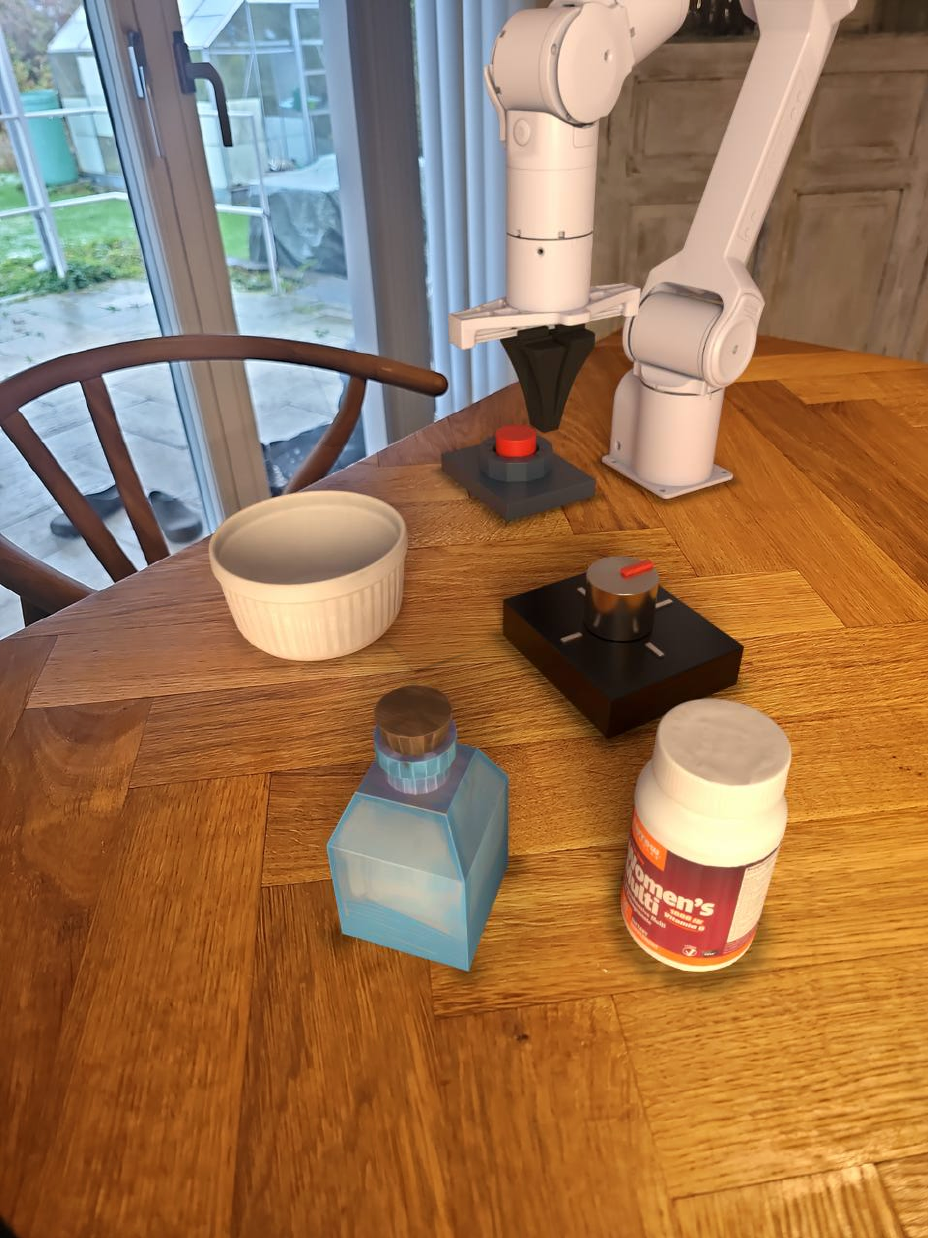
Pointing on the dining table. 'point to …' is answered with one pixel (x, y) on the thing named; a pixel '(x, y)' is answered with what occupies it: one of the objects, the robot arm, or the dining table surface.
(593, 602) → the dial
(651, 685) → the panel
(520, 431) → the button
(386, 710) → the perfume bottle
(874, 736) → the dining table surface
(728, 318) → the robot arm
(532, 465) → the button block
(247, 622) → the ramekin
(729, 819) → the pill bottle
